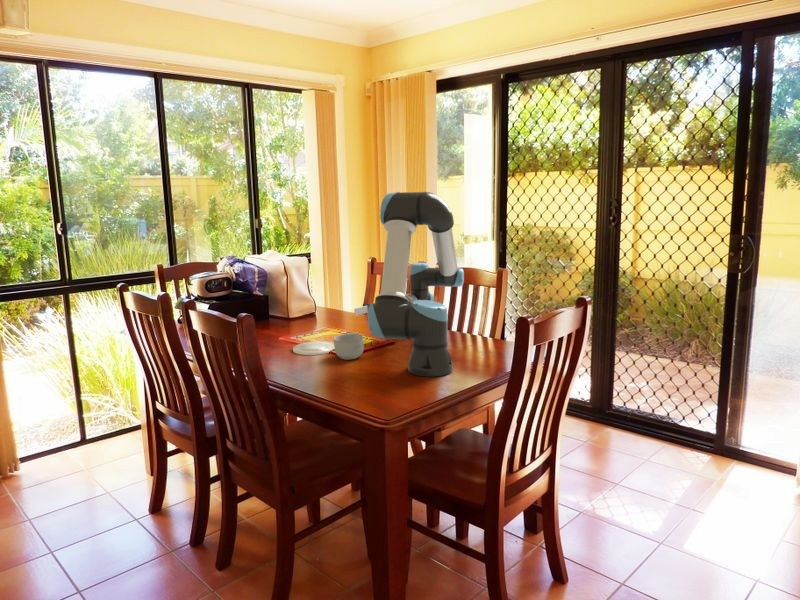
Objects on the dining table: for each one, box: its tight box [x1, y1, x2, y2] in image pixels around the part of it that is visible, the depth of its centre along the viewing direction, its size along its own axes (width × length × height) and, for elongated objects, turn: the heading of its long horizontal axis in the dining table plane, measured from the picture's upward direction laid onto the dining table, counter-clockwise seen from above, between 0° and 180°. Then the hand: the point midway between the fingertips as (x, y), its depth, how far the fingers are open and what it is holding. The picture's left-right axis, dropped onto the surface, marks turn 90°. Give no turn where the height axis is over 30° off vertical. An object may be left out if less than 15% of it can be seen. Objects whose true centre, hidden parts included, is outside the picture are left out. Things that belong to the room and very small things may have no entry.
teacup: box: [333, 332, 365, 361], centre depth 218 cm, size 14×11×8 cm
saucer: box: [292, 341, 335, 356], centre depth 228 cm, size 16×16×1 cm
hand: (367, 314), depth 224 cm, fingers open, 13 cm apart
